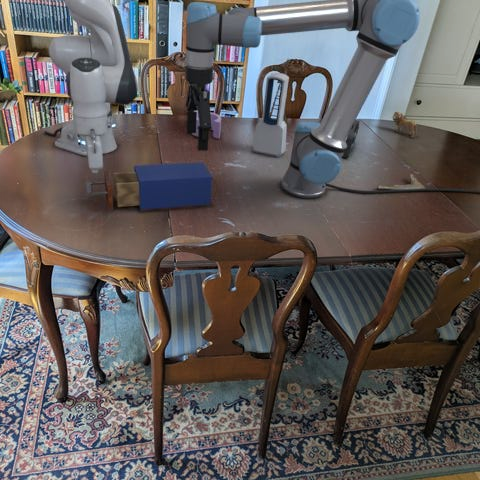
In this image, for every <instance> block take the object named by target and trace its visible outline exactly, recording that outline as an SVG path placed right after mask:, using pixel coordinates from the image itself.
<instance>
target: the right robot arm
mask: <svg viewBox="0 0 480 480" xmlns="http://www.w3.org/2000/svg"><path fill="white" fill-rule="evenodd" d="M420 15H421V14H420V9H419V6H418V4H417V2H416V1H415V0H315V1H314V0H313V1H304V2H293V3H284V4H283V3H282V4H273V5H264V6H263V5H262V6H255V7H254V6H253V7H241V6H238V7H237V6H236V7H233V8H231V9H230V10H229V11H228V12H227V13H220V12H218V10H217V6H216V4H214V3H210V2H205V1H204V2H203V1H194V2H190V3H189V4H188V5H187V7H186V20H185V63H184V64H185V65H186V66H185V71H184V73H185V77H184V78H185V79H184V80H185V81H186V82H187V83H188V87H187V94H186V98H185V99H186V100H185V105H184V106H185V107H186V111H187V112H186V113H187V114H186V134H192V133H196V120H197V112H198V117H199V124H200V126H198V128H197V129H199V131H198V137H197V151H198V152H200V151H201V152H202V151H208V150H209V130H210V129H211V128H212V126H211V114H210V112H211V101H210V94H211V93H210V91H209V90H208V89H207V85H208V84H211V83H213V80H214V68H213V67H214V61H215V59H214V58H216V53H215V46H217V45H218V46H227V47H229V46H230V47H237V48H245V49H249V48H251V49H253V48H255V49H256V48H259V46H260V44H261V40H262V39H261V38H262V36H272V35H283V34H295V33H306V32H317V31H326V30H338V29H345V30H346V31H347V32H357V34H356V37H355V39H356V42H357V43H356V44H357V48H356V49H355V51H354V52H353V53H354V54H353V56H352V58H351V60H350V62H349V64H348V66H347V67H346V70H345V72H344V74H343V76H342V78H341V80H340V82H339V84H338V86H337V89H336V90H335V93H334V94H333V97H332V99H331V101H330V103H329V104H328V107H327V109H326V111H325V113H324V115H323V117H322V120H321V122H315V121H301V122H299V123H297V124H296V126H295V129H294V137H293V142H292V148H291V154H290V160H289V166H288V168H287V169H286V171H285V174H284V175H283V178H282V179H281V184H280V187H281V190H283V191H284V192H285V193H286V194H288V195H290V196H292V197H296V198H300V199H318V198H322V197H323V196H324V195H325V192H326V188H327V187H329V188H332V189H335V190H338V191H344V192H349V193H356V194H386V193H387V194H388V193H411V192H456V193H457V192H458V193H471V194H472V193H473V194H480V192H479V191H480V190H475V189H471V190H472V191H467V190H468V189H463V188H462V189H460V188H424V189H400V190H390V189H377V190H360V189H353V188H346V187H341V186H337V185H334V184H330V183H331V182H332V181H334V180H335V179H336V178H337V177H338V176H339V174H340V172H341V169H342V161H341V159H342V158H343V154H344V152H345V150H346V148H347V144H346V140H347V136H348V133H349V131H350V129H351V127H352V125H353V123H354V122H355V120H357V117H358V116H359V114H360V112H361V111H362V108H363V107H364V105H365V102H366V101H367V99H368V97H369V95H370V94H371V91H372V89H373V88H374V85H375V83H376V82H377V80H378V78H379V76H380V74H381V72H382V70H383V68H384V67H385V64H386V63H387V61H388V60H390V59H391V58H394V57H397V54H398V52H399V50H400V48H401V47H402V45H403V44H405V43H407V42H409V41H410V40H411V39H412V37H414V35H415V34H416V32H417V31H418V27H419V24H420V17H421V16H420ZM194 111H196V112H194Z"/></svg>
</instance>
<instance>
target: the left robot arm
mask: <svg viewBox="0 0 480 480" xmlns="http://www.w3.org/2000/svg"><path fill="white" fill-rule="evenodd" d="M63 1H64V4H65V6H66V7H67V9H68V13H69V15H70V18H71V19H72V20H73V21H74V22H75V23H76V24H78V25H79V26H82V27H83V28H85V29H86V30H88V31H89V32H90V33H91V34H90V35H75V34H72V35H71V34H66V35H61V36H55V37H53V39H52V40H51V41H50V43H49V47H48V55H49V58H50V61H51V62H52V63H53V65H54V66H55V67H56V68H57V69H59V70H61V71H62V72H63V73H64V74H65V82H66V91H67V96H68V97H69V98H70V100H71V101H72V105H73V106H72V111H71V115H72V120H71V121H69V122H68V123H67V124H65V125H64V126H62V127H59V128H57V129H56V130H54V133H51V132H48V130H44V135H48V136H50V137H56V136H57V134H58V133H59V135H60V137H59V138H57V139H56V140H55V142H54V146H55V147H57V148H59V149H62V150H65V151H69V152H72V153H74V154H78V155H80V156H84V157H85V156H86V157H87V165H88V169H89V170H91V172H92V174H98V173H99V170H103V169H104V158H103V155H105V154H108V153H111V152H114V151H115V150H116V149H117V148H118V145H117V142H116V140H115V135H114V131H113V127H116V124H113V111H112V109H111V104H117V105H125V106H128V105H129V104H131V103H132V102H133V101H134V100H135V99H137V97H138V92H139V83H138V79H137V75H136V73H135V71H134V68H133V64H132V59H131V55H130V50H129V46H128V42H127V37H126V32H125V27H124V24H123V21H122V20H123V19H122V17H121V13H120V11H119V9H118V7H117V6H116V5H115V4H113V3H112V2H111V0H63Z"/></svg>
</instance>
